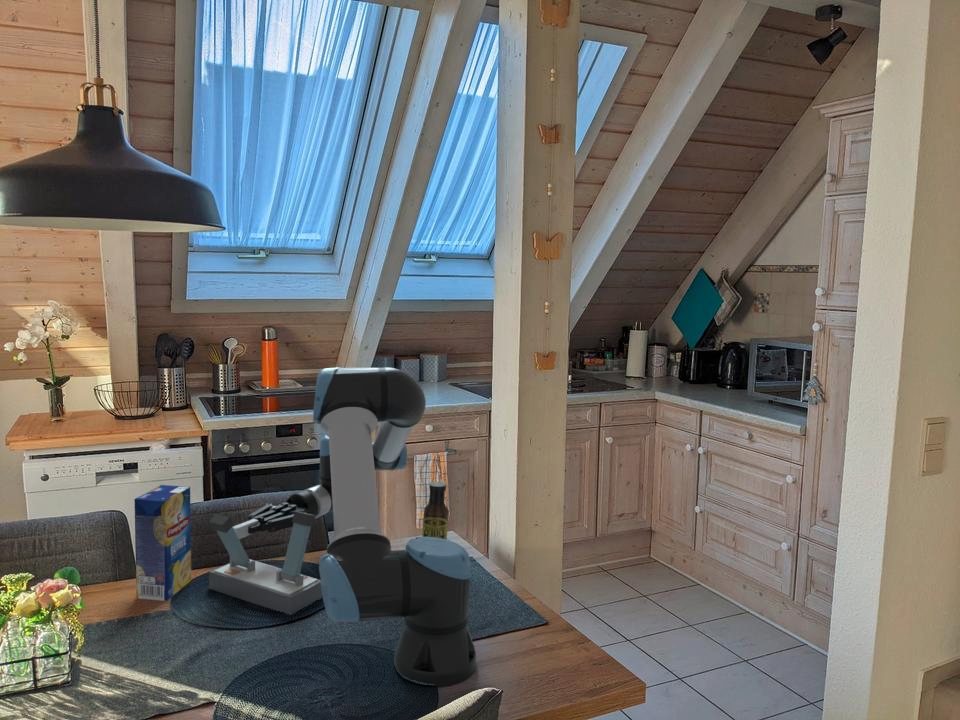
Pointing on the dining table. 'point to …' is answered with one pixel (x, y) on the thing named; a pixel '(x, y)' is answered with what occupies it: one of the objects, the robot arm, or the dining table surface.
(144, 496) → the blue food box
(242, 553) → the lever far
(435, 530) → the sauce bottle
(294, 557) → the lever near
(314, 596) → the switch console
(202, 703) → the dining table surface
